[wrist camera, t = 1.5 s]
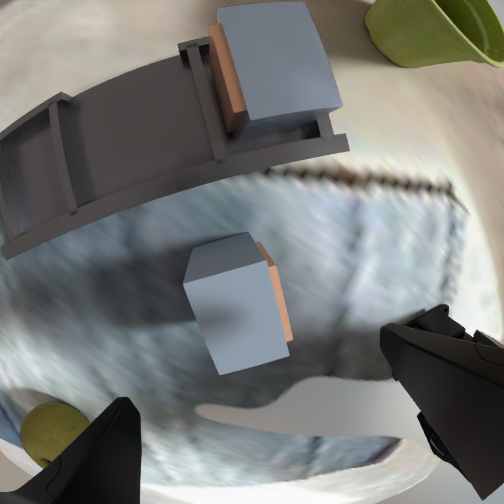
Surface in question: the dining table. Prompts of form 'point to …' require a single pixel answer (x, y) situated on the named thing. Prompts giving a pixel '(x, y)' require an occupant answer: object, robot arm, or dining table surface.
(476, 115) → the dining table surface
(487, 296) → the dining table surface
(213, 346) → the block
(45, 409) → the apple
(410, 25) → the plant pot
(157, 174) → the rail
